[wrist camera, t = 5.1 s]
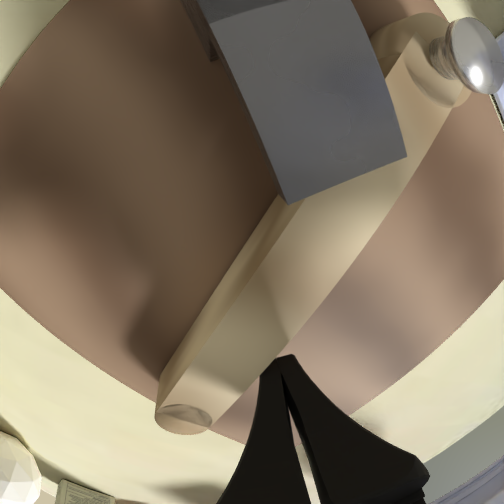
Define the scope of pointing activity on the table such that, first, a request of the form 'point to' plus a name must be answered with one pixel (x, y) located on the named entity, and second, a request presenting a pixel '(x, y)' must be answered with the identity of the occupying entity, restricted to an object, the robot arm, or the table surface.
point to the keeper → (304, 88)
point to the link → (304, 246)
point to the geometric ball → (17, 472)
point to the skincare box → (80, 495)
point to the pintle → (469, 56)
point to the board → (216, 208)
